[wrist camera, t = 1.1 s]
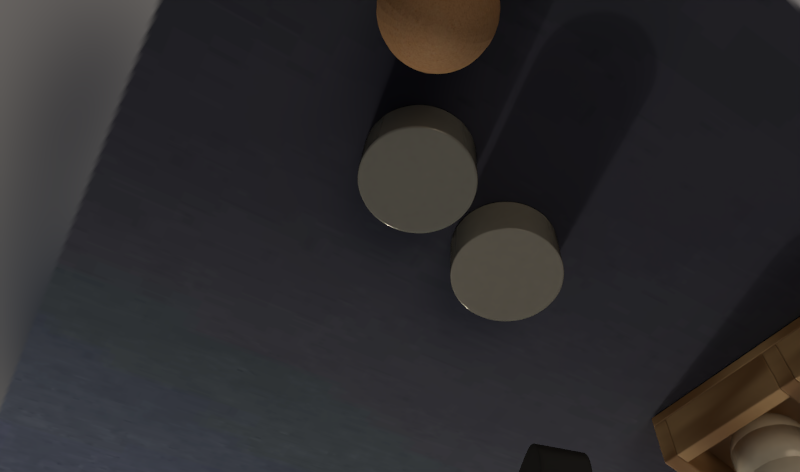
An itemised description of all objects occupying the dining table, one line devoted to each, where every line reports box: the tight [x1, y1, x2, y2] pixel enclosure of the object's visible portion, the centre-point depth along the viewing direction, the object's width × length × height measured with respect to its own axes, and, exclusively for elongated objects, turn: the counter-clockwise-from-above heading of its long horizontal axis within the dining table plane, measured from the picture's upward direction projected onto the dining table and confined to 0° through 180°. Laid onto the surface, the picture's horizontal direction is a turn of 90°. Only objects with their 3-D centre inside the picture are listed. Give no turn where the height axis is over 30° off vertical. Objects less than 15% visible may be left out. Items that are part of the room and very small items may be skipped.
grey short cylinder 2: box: [450, 202, 564, 321], centre depth 34 cm, size 5×5×2 cm
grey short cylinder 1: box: [358, 105, 478, 233], centre depth 32 cm, size 5×5×2 cm
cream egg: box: [730, 412, 800, 472], centre depth 36 cm, size 4×4×6 cm
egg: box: [376, 0, 500, 74], centre depth 27 cm, size 4×4×6 cm
